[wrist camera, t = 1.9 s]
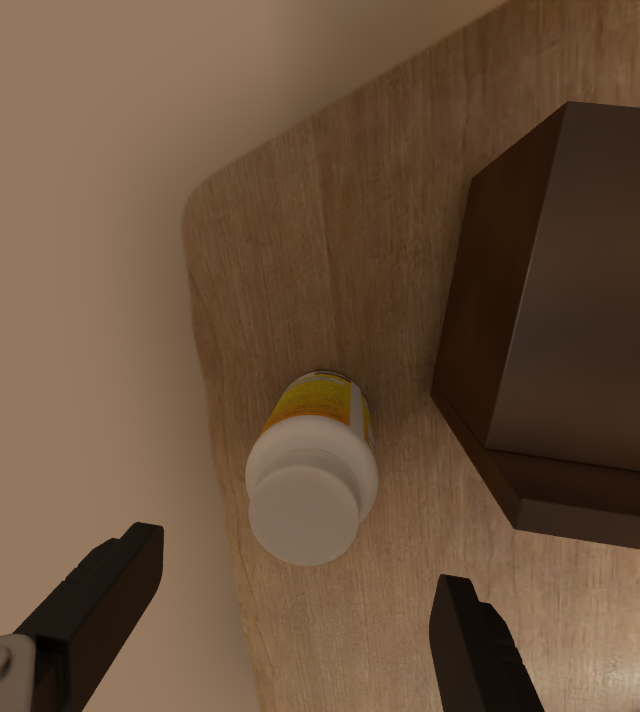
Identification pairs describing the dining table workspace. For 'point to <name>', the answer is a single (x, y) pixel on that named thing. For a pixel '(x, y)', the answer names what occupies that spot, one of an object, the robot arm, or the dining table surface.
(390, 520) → the dining table surface
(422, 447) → the dining table surface
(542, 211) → the shelf
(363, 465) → the supplement bottle
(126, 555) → the robot arm
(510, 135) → the dining table surface
